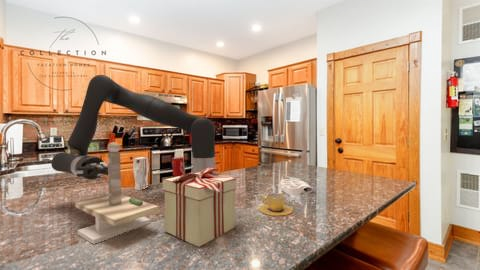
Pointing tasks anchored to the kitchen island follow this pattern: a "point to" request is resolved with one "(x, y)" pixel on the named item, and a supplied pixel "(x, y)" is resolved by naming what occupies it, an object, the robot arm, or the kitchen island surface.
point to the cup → (275, 204)
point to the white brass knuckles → (294, 186)
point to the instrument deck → (116, 210)
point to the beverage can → (178, 166)
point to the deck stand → (109, 229)
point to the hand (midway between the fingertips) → (112, 171)
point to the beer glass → (140, 172)
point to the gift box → (199, 206)
